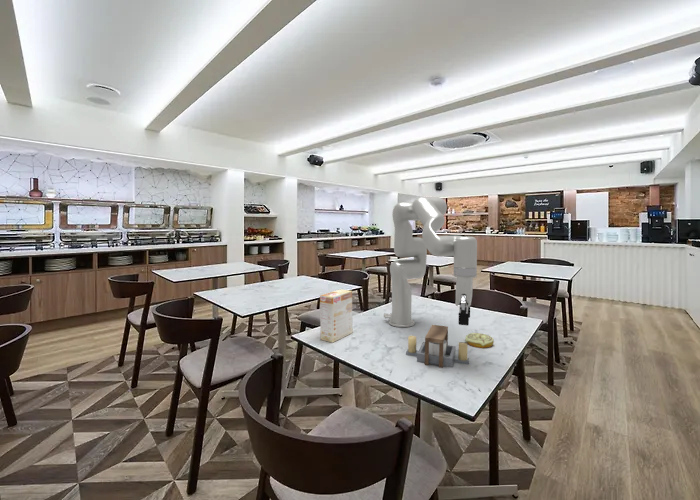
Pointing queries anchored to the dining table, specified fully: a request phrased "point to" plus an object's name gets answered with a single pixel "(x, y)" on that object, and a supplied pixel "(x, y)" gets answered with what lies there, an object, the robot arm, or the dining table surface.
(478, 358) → the dining table surface
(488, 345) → the decorated donut
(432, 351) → the white cylinder
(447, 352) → the slider
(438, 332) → the tunnel
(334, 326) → the coffeecake box
